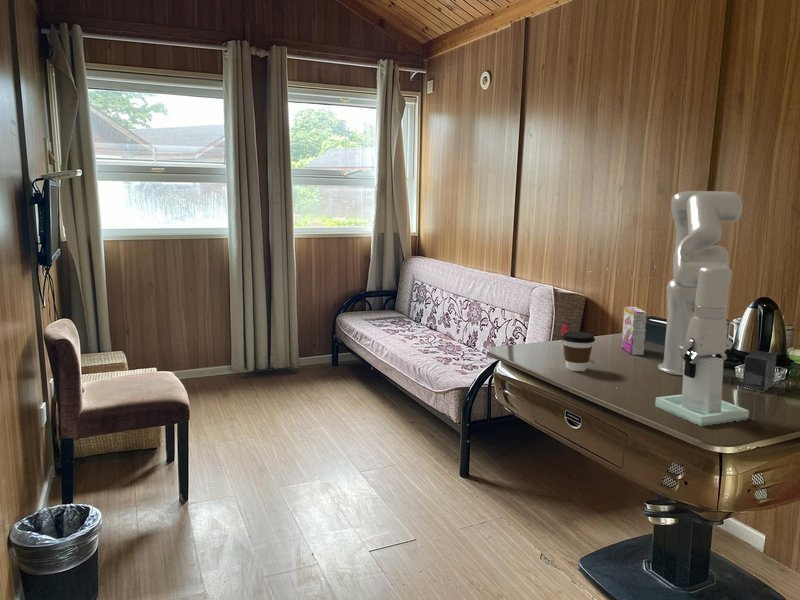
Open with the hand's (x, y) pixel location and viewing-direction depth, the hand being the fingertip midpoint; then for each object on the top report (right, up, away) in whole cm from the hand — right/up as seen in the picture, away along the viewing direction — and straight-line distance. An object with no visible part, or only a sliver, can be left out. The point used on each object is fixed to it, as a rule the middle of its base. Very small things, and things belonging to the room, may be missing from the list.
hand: (703, 374), depth 162 cm
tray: (0, -10, +1) cm, 11 cm away
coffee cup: (-22, -4, +42) cm, 47 cm away
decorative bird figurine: (-19, 0, +62) cm, 64 cm away
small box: (+29, -7, +24) cm, 39 cm away
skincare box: (0, -10, +1) cm, 10 cm away
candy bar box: (+6, 0, +66) cm, 66 cm away
